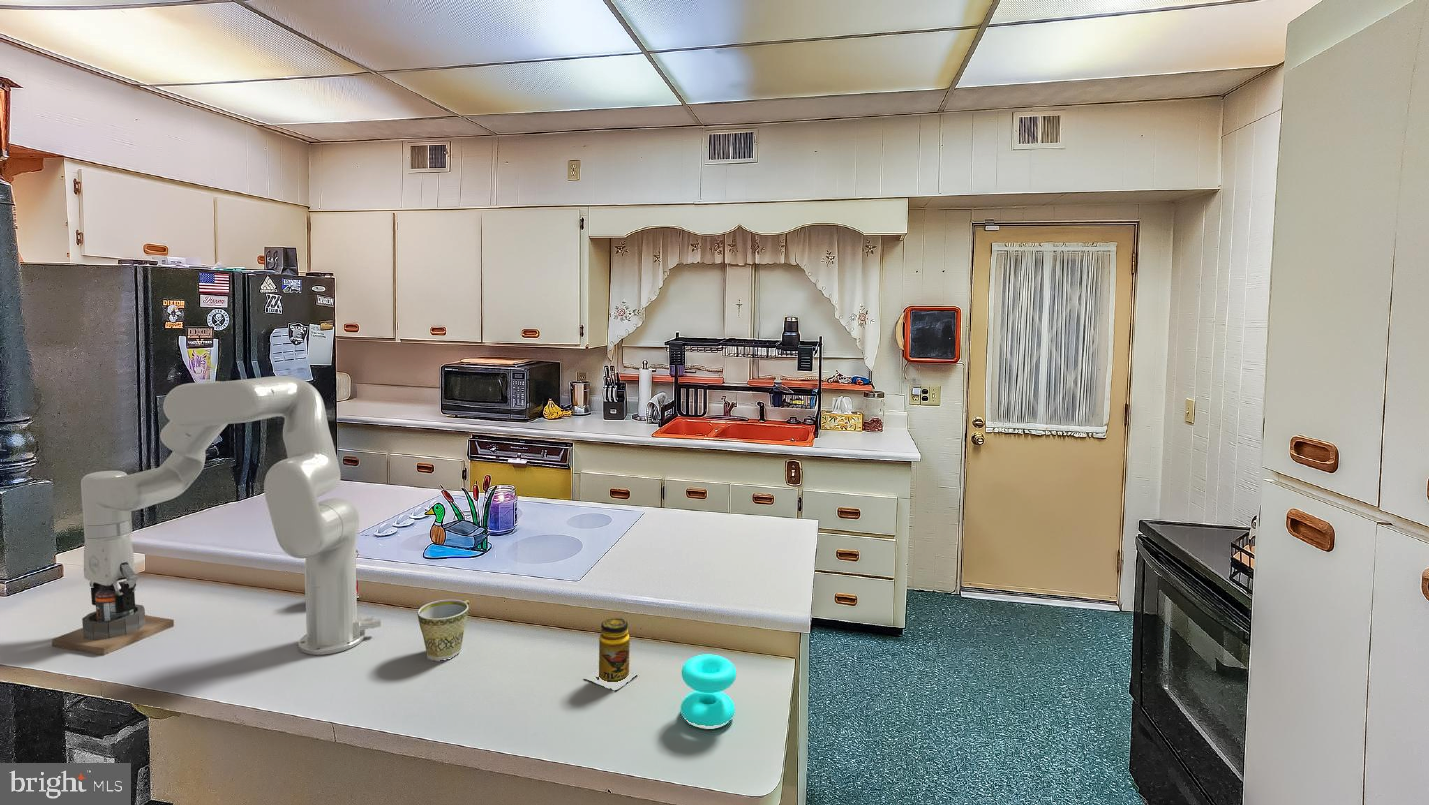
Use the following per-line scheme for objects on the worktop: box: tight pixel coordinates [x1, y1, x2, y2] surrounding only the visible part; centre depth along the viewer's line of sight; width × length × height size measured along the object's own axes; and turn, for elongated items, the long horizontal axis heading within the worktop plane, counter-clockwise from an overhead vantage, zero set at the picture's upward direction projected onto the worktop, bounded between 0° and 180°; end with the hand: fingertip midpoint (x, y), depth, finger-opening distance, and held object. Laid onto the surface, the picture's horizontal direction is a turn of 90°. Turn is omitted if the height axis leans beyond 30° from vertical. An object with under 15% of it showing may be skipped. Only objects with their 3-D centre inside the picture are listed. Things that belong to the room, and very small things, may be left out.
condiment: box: [598, 617, 631, 682], centre depth 131 cm, size 7×8×12 cm
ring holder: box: [51, 603, 175, 656], centre depth 141 cm, size 14×14×5 cm
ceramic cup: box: [417, 599, 471, 662], centre depth 139 cm, size 13×10×10 cm
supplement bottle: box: [95, 577, 134, 622], centre depth 141 cm, size 6×6×11 cm
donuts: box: [680, 653, 737, 726], centre depth 118 cm, size 10×10×10 cm
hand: (113, 606), depth 141 cm, fingers open, 8 cm apart
